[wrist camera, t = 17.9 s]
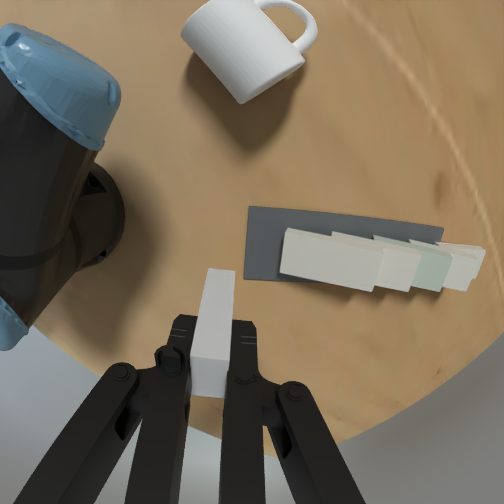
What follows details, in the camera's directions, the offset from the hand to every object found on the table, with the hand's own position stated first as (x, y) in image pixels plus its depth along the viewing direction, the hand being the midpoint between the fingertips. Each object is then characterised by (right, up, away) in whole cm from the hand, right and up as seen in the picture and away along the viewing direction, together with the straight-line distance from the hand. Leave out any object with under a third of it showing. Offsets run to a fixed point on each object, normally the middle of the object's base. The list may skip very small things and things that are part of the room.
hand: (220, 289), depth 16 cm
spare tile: (+17, +2, +19) cm, 26 cm away
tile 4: (+23, +1, +20) cm, 31 cm away
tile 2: (+11, +2, +19) cm, 22 cm away
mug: (+2, +25, +9) cm, 27 cm away
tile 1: (+6, +2, +19) cm, 20 cm away
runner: (+16, +2, +20) cm, 26 cm away
